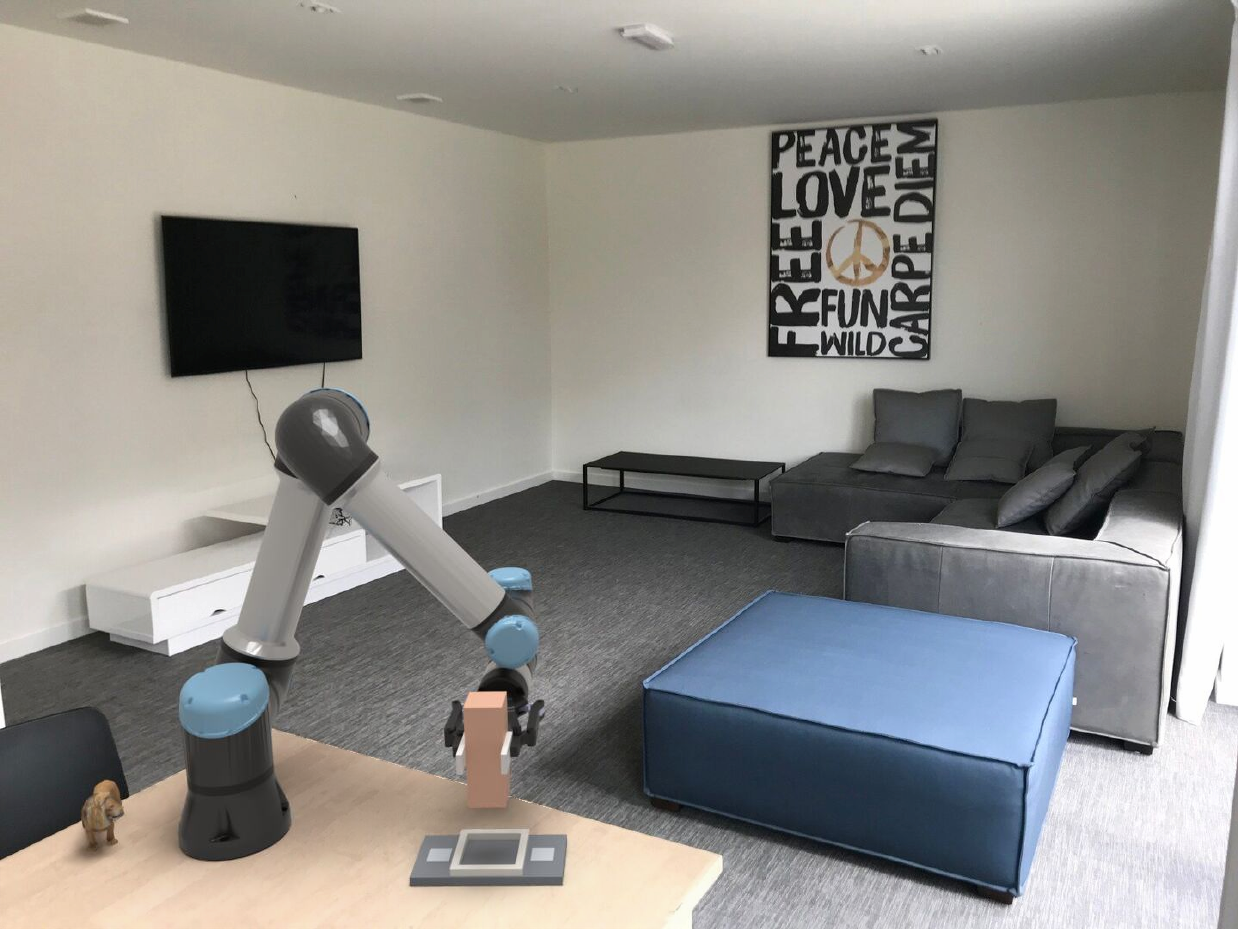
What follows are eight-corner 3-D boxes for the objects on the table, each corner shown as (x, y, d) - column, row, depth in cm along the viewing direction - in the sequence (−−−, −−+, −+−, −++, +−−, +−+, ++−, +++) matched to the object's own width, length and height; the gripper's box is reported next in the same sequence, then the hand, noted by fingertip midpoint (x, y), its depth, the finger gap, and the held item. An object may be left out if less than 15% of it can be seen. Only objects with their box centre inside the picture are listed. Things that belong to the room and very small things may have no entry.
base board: (409, 886, 129) (409, 870, 129) (425, 843, 139) (424, 828, 138) (562, 885, 129) (562, 869, 128) (567, 842, 139) (566, 828, 138)
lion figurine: (128, 854, 137) (121, 795, 135) (85, 865, 134) (78, 805, 133) (124, 806, 150) (118, 751, 148) (84, 815, 147) (78, 760, 146)
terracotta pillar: (468, 807, 130) (463, 708, 127) (474, 788, 135) (469, 692, 132) (506, 807, 130) (501, 707, 127) (510, 787, 134) (506, 691, 132)
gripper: (564, 712, 149) (553, 791, 126) (445, 714, 149) (412, 792, 126) (563, 665, 147) (551, 736, 125) (443, 667, 148) (409, 738, 125)
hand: (481, 764), depth 125 cm, fingers closed on terracotta pillar, 5 cm apart
